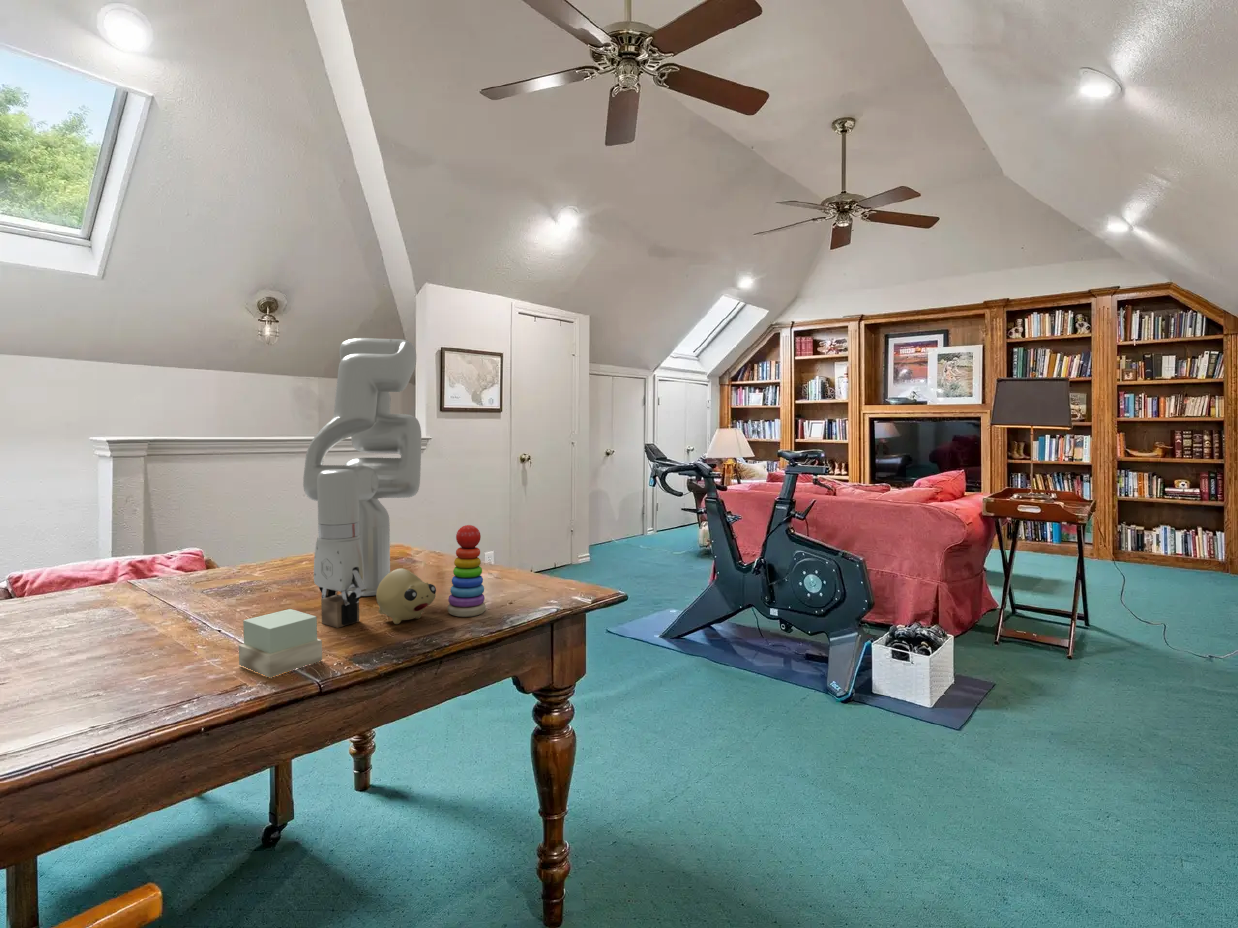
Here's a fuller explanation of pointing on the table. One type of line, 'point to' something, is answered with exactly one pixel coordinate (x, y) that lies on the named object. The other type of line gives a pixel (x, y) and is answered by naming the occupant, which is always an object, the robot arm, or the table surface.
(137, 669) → the table surface
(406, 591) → the toy frog
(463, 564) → the stacking toy
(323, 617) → the walnut cube
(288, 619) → the top block
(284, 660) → the base block
